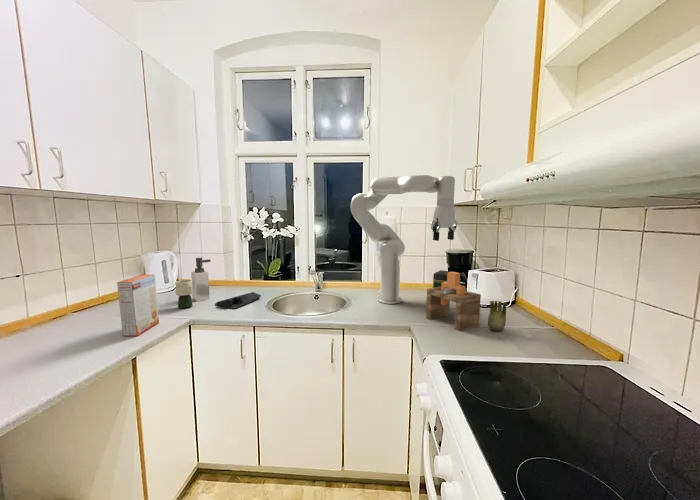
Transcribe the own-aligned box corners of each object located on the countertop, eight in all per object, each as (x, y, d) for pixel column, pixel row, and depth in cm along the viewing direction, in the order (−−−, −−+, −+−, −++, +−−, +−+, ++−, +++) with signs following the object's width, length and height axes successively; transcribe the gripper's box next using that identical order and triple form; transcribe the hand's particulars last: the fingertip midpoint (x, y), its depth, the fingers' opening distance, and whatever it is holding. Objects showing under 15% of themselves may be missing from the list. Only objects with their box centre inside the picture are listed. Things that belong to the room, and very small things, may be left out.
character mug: (199, 307, 152) (197, 280, 151) (185, 311, 146) (183, 283, 145) (185, 303, 158) (183, 278, 156) (171, 307, 152) (169, 281, 150)
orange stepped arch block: (440, 303, 136) (441, 271, 135) (445, 302, 138) (446, 270, 136) (459, 310, 128) (461, 275, 126) (464, 308, 130) (466, 274, 128)
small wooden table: (425, 317, 138) (427, 285, 136) (444, 313, 145) (446, 282, 143) (459, 331, 123) (461, 294, 121) (478, 325, 129) (480, 290, 128)
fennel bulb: (506, 331, 123) (508, 301, 122) (500, 334, 120) (502, 303, 119) (491, 326, 128) (493, 298, 126) (485, 329, 125) (487, 300, 123)
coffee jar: (447, 313, 144) (449, 273, 142) (430, 310, 148) (431, 272, 145) (451, 307, 153) (452, 270, 151) (434, 305, 156) (436, 268, 154)
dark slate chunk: (265, 299, 167) (265, 291, 166) (232, 311, 148) (232, 301, 147) (245, 296, 174) (244, 287, 174) (210, 306, 155) (210, 297, 154)
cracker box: (145, 323, 131) (141, 273, 128) (159, 323, 131) (156, 273, 128) (121, 336, 117) (116, 281, 114) (137, 336, 117) (132, 281, 114)
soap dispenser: (214, 298, 167) (212, 257, 165) (196, 301, 162) (194, 259, 159) (209, 296, 172) (207, 256, 169) (192, 299, 166) (190, 257, 164)
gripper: (451, 203, 154) (449, 238, 156) (425, 203, 145) (424, 240, 147) (464, 203, 147) (462, 240, 150) (437, 202, 139) (436, 241, 141)
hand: (443, 240), depth 148 cm, fingers open, 9 cm apart
